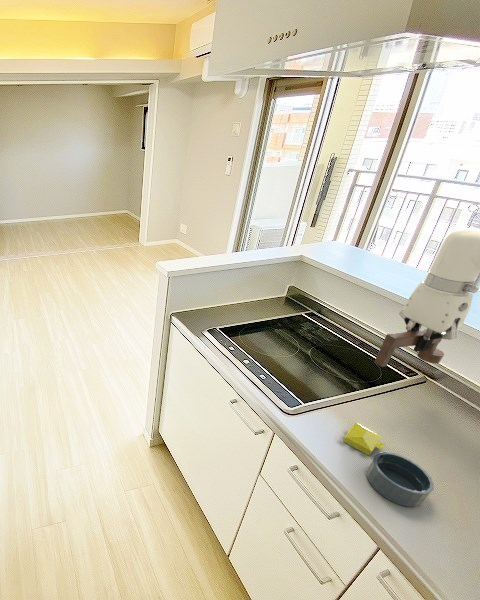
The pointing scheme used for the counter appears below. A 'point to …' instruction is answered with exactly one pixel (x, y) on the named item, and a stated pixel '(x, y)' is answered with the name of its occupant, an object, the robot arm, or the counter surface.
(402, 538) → the counter surface
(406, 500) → the bowl
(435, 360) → the brown drawer pull
